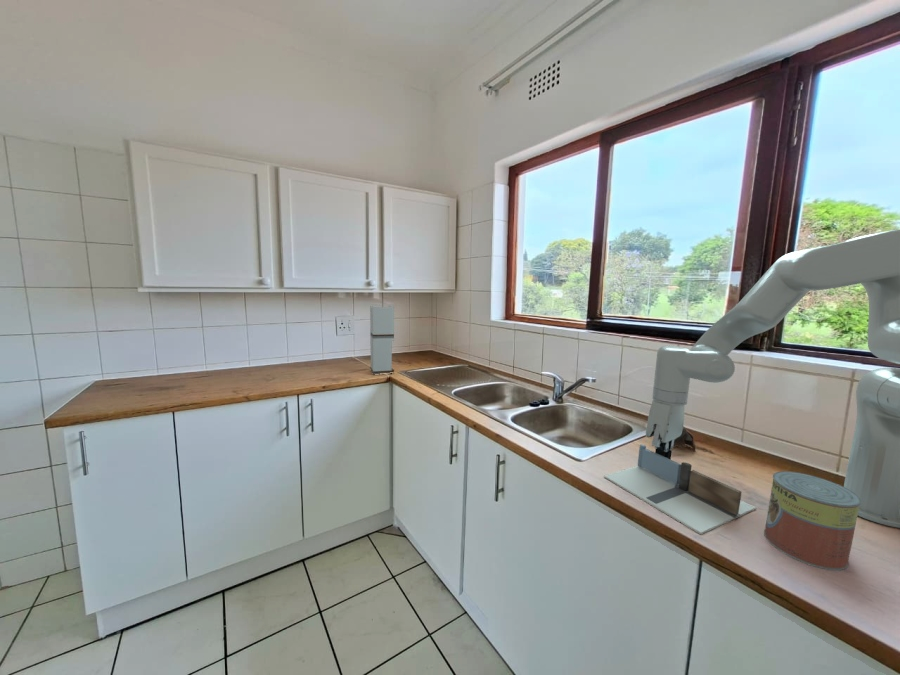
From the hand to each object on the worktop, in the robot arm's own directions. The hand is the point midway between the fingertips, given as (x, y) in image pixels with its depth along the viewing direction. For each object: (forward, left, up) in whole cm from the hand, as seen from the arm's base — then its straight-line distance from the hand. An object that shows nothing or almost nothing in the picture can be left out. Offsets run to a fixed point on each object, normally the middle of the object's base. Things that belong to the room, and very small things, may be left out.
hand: (662, 463), depth 93 cm
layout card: (-8, +6, -2) cm, 10 cm away
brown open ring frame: (+8, -19, -3) cm, 21 cm away
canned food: (-29, +2, -2) cm, 29 cm away
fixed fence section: (-13, +4, -2) cm, 14 cm away
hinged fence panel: (-1, +4, -1) cm, 4 cm away
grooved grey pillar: (+130, +39, -2) cm, 136 cm away
